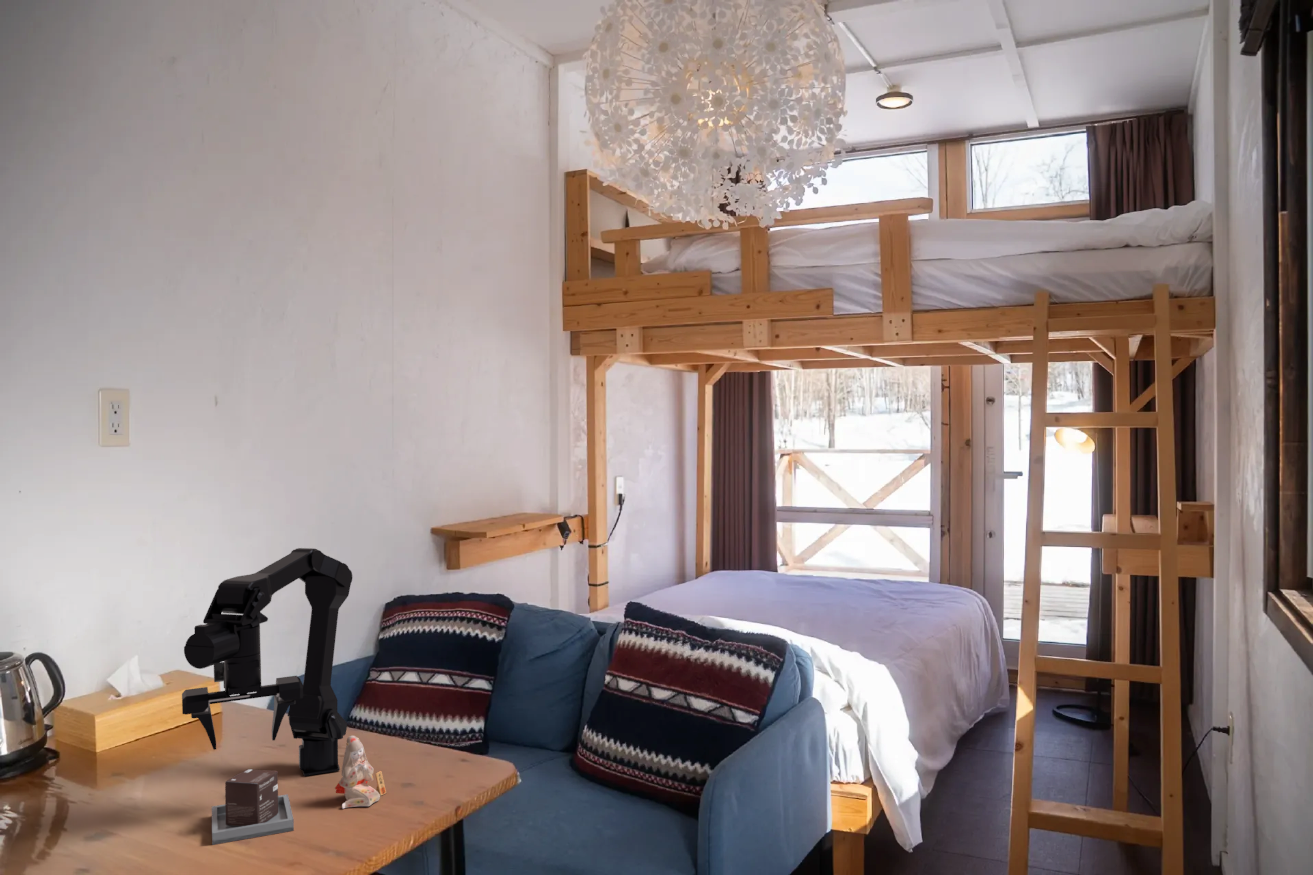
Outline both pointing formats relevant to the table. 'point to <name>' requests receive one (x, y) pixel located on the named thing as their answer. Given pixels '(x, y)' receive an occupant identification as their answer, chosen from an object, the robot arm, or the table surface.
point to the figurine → (358, 777)
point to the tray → (234, 833)
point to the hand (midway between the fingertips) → (244, 744)
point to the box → (251, 797)
